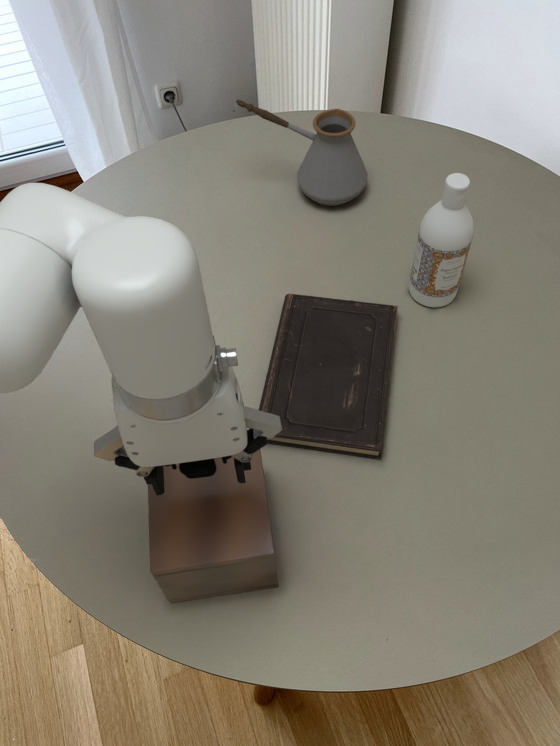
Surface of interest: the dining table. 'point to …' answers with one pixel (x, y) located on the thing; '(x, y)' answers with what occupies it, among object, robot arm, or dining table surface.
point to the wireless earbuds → (198, 468)
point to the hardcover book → (331, 374)
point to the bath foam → (442, 246)
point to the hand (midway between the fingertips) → (200, 474)
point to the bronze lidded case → (211, 533)
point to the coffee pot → (326, 156)
